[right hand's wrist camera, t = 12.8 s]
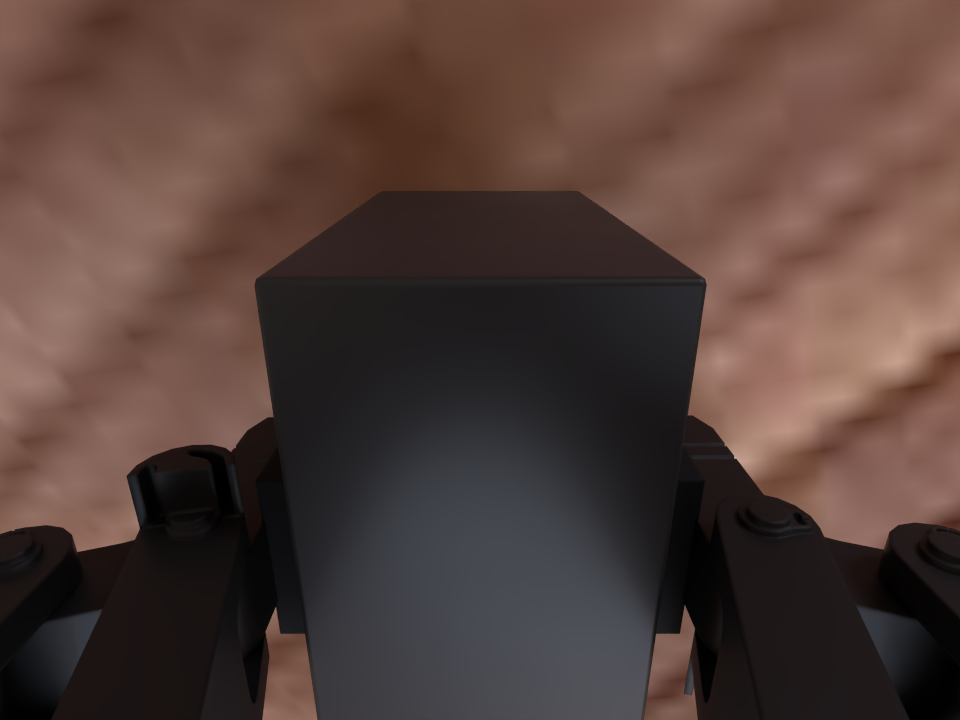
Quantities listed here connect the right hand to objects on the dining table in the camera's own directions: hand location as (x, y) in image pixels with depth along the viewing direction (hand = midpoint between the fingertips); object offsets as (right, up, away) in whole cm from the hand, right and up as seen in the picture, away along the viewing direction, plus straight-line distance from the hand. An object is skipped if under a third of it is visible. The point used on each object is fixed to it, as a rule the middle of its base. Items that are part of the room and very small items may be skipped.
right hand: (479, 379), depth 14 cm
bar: (0, -9, +4) cm, 10 cm away
